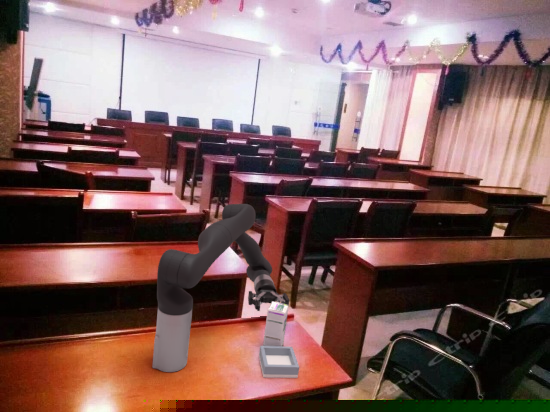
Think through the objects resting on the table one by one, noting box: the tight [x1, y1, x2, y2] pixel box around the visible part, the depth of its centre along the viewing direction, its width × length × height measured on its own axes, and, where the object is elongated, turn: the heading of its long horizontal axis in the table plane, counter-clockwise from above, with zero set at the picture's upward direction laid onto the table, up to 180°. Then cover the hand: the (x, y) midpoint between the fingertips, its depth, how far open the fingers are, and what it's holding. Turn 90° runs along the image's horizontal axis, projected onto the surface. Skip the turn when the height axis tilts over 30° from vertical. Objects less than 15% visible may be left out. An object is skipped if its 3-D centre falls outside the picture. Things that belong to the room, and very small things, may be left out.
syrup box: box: [262, 302, 290, 346], centre depth 126 cm, size 6×6×14 cm
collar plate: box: [258, 345, 300, 379], centre depth 118 cm, size 10×10×4 cm
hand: (271, 309), depth 134 cm, fingers open, 8 cm apart
